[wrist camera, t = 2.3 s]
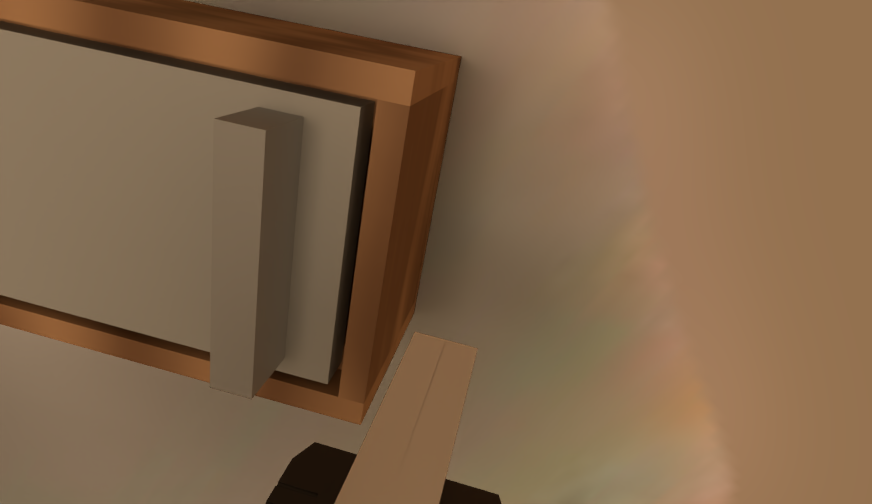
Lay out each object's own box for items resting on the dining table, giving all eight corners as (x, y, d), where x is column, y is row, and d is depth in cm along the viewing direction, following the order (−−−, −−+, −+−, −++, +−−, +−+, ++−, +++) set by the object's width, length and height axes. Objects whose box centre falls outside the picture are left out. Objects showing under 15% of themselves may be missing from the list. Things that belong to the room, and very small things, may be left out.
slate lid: (-13, 266, 24) (-116, 310, 20) (-57, 8, 20) (-196, 3, 16) (341, 362, 22) (299, 428, 18) (375, 101, 18) (330, 119, 14)
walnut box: (73, 226, 31) (-97, 296, 23) (49, -28, 26) (-182, -53, 18) (413, 313, 29) (360, 424, 21) (461, 56, 24) (415, 70, 16)
